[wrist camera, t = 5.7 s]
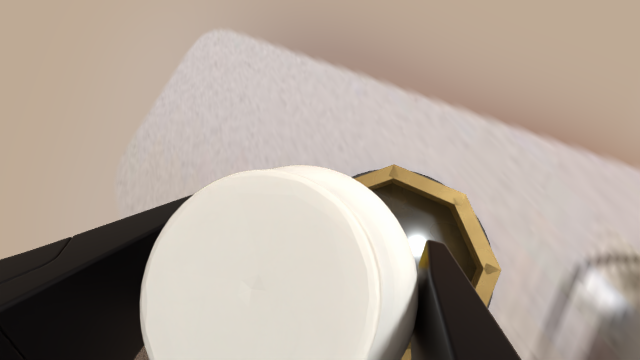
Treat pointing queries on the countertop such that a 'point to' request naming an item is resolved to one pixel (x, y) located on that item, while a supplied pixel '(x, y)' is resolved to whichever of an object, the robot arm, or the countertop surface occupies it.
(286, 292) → the supplement bottle
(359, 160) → the countertop surface
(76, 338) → the robot arm
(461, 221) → the black and gold tray
